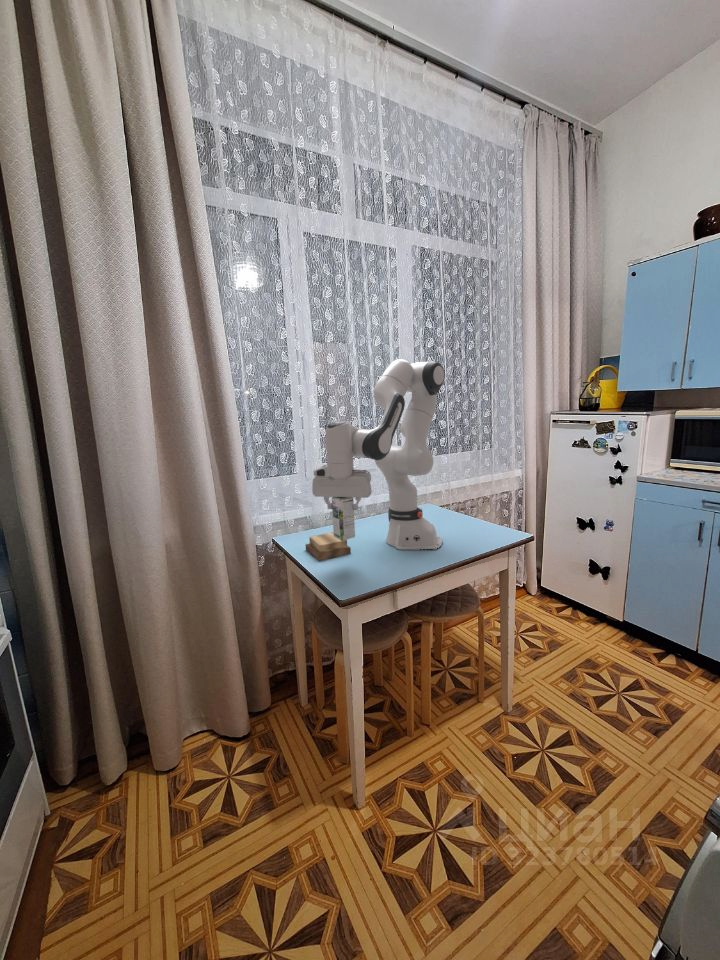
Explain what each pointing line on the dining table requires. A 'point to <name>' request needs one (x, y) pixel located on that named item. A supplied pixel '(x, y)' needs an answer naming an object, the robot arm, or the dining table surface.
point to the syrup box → (343, 518)
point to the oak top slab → (327, 542)
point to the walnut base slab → (327, 554)
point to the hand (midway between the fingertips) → (342, 509)
